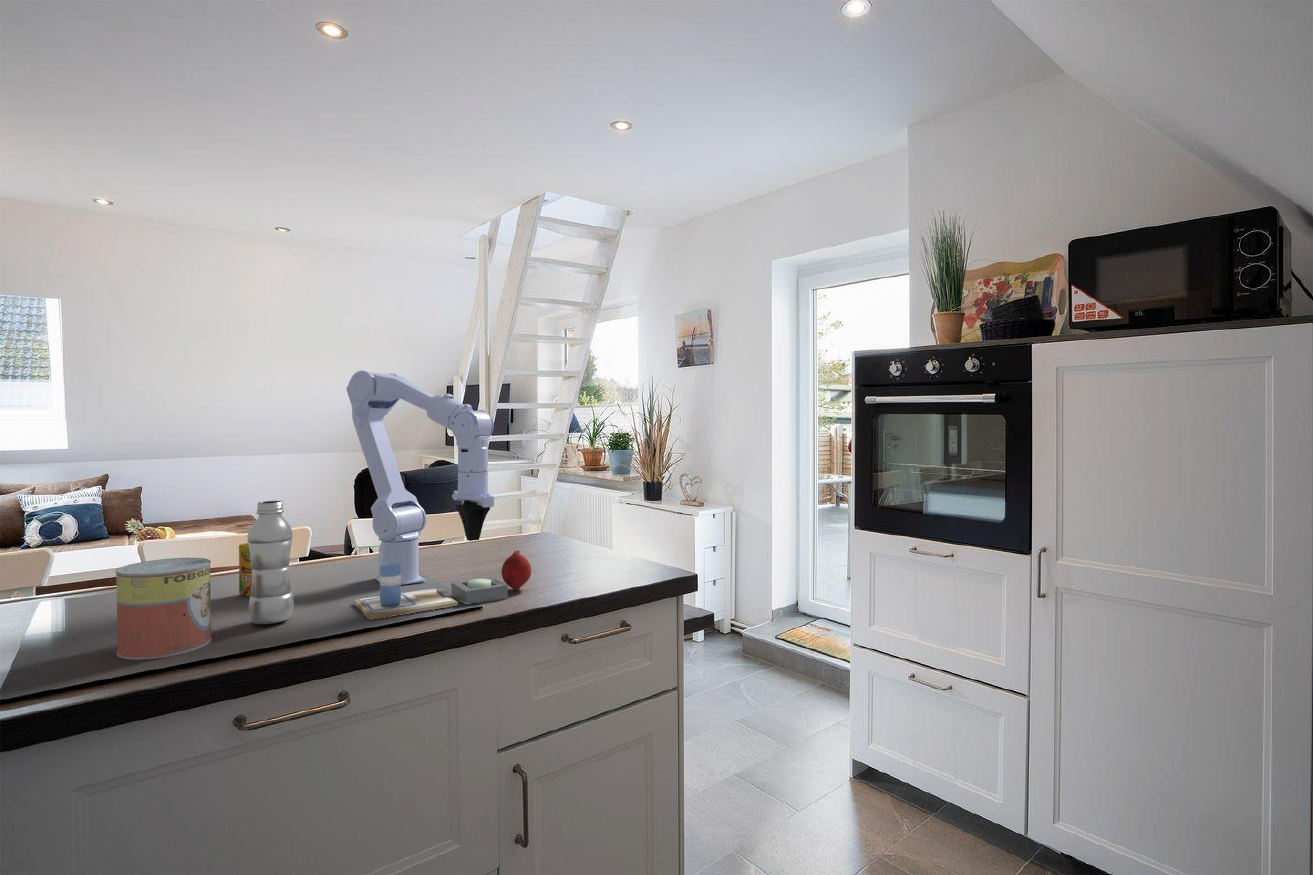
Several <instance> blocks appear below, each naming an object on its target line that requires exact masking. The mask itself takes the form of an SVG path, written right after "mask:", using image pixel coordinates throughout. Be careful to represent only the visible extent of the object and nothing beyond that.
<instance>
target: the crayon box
mask: <svg viewBox="0 0 1313 875" xmlns="http://www.w3.org/2000/svg"><path fill="white" fill-rule="evenodd" d="M238 566H239V567H238V587H239V588H238V589H239V590H238V592H239V596H243V597H249V598H250V597H251V586H252V566H251V556H250V551H249V545H248V542H247V543H241V544H239V545H238Z"/></svg>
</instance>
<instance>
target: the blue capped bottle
mask: <svg viewBox="0 0 1313 875" xmlns="http://www.w3.org/2000/svg"><path fill="white" fill-rule="evenodd" d="M401 587H402V585H401V565H400V564H384V565H381V566H380V582H379V596H380V603H381V607H385V608H389V607H396V606H398V605H400V601H401V593H402V591H401V590H402V589H401Z"/></svg>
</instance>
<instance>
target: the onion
mask: <svg viewBox="0 0 1313 875" xmlns="http://www.w3.org/2000/svg"><path fill="white" fill-rule="evenodd" d="M500 572H501V578H502V580H503V581H504V582H503V583H504V584H506V585H508V587H510V588H511V589H513V590H515V591H517V590H520V588H522V587H523V586H524V585H525V584H527V582H528V581H529V580H530V578H531V576H532V565H531V564H530V561H529V560H528V559H527V557H525V556H524V555H522V554H521V550H520V549H515V550H514V551H513V553H512V554H511V555H510V556H509V557H507V558H506V559H505V561H504V562H503V564H502V566H501V571H500Z"/></svg>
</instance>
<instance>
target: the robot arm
mask: <svg viewBox="0 0 1313 875" xmlns="http://www.w3.org/2000/svg"><path fill="white" fill-rule="evenodd" d="M345 390H346V393H347V396H348V398H349V402H350V405H351V418H352V424H353V425H354V428H355V432H356V435H357V437H358V440H359V444H360V448H361V450H362V452H363V455H364V459H365V463H366V465H367V468H368V471H369V474H370V477H371V481H372V483H373V487H374V490H375V493H376V496H377V499H376V500H375V501H374V503H373V504H372V505H371V507H370V511H371V513H372V514H371V515H372V528H373V532H374V534H375V535H376V536H377V538H378V541H381V542H380V544H379V547H378V574H377V575H374V576H373V579H375V581H377V582H378V583H380V566H381V565H384V564H400V565H401V586H402V585H411V584H417V583H422V582H423V583H424V582H426V579H425V578H423V577H422V576H421V575H420V574H419V570H420V569H419V537H421V532H422V531H423V530H424V529H425V527H426V525H427V515H426V511H425V510H424V508H423V507H422V506H421V505H420V504H419V501H418V499H417V497H416V496H415V495H414V494H413V493H411V492H409V491H408V490H407V489H406V488H405V484H404V481H403V478H402V476H401V473H400V470H399V467H398V464H397V461H396V457H395V455H394V451H393V449H392V446H391V443H390V439H389V436H388V434H387V431H386V428H385V425H384V422H383V421H384V418H385V416H387V415H388V414H389V413H390V412H391V411H392V409H393V408H394V407H395V406H396V404H397V403H398V402H399V401H400V400H401V401H402V400H403V401H404V402H407V403H409V404H411V405H413V406H416V407H418V408H420V409H423V410H425V411H426V416H427V417H428V419H429V420H431V421H432V422H435V423H437V424H438V425H440V426H442V427H443V428H445V429H447V430H450V431H451V433H452V434H453V436H454V438H455V440H456V441H455V444H456V446H457V490H453V494H451V498H452V499H453V501H459V502H460V501H461V502H462V504H456V505H455V510H456V512H457V513H458V515H459V517H460V519H461V522H462V527H463V531H464V534H465V537H466V538H465V539H466V541H468V542H469V541H470V542H471V541H473V542H474V541H480V537H481V533H482V530H483V526H484V522H485V520H486V517H487V515H488V513H489V511H490V510H491V508H493V507H495V497H494V496H492V495H491V494H490V493H489V437H490V436H491V435H492V434H493V432H494V427H495V424H494V419H493V417H492V415H491V414H489V413H488V412H487V411H486V410H483V409H481V410H479V409H478V410H474V409H473V408H472V405H470V404H469V403H462V402H460V401H458V400H456V399H454V395H453V394H450V393H444V394H443V393H441V394H440V393H439V394H437V395H433V394H432V393H430V392H428V391H426V390H425V389H423V388H422V387H420V386H418V385H416V384H414V383H413V382H411V381H409V380H408V379H406V378H405V377H404V376H399V375H398V374H396V373H390V372H389V373H385V372H384V373H382V372H374V371H373V372H372V371H367V370H358V371H356V372H354V373H353V375H352V376H351V378H350V379H349V382H348V384H347V386H346V388H345Z"/></svg>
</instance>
